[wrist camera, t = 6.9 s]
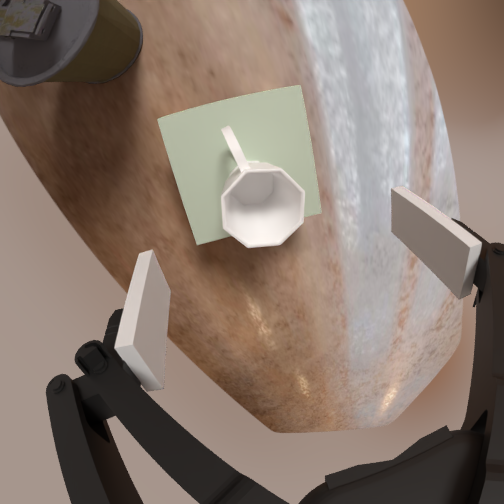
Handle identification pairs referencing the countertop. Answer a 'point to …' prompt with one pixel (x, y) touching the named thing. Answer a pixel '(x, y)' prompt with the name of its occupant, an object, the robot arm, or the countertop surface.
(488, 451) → the robot arm
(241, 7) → the countertop surface
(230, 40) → the countertop surface
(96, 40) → the canister
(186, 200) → the stool
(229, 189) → the cup
